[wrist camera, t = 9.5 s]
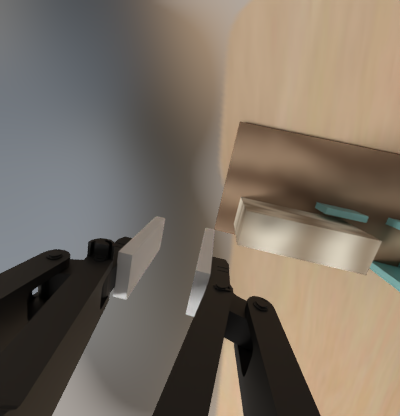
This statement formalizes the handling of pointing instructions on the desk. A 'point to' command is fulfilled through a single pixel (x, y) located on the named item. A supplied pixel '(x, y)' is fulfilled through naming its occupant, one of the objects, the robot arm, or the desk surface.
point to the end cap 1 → (341, 212)
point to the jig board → (314, 181)
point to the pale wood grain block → (304, 236)
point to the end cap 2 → (389, 273)
